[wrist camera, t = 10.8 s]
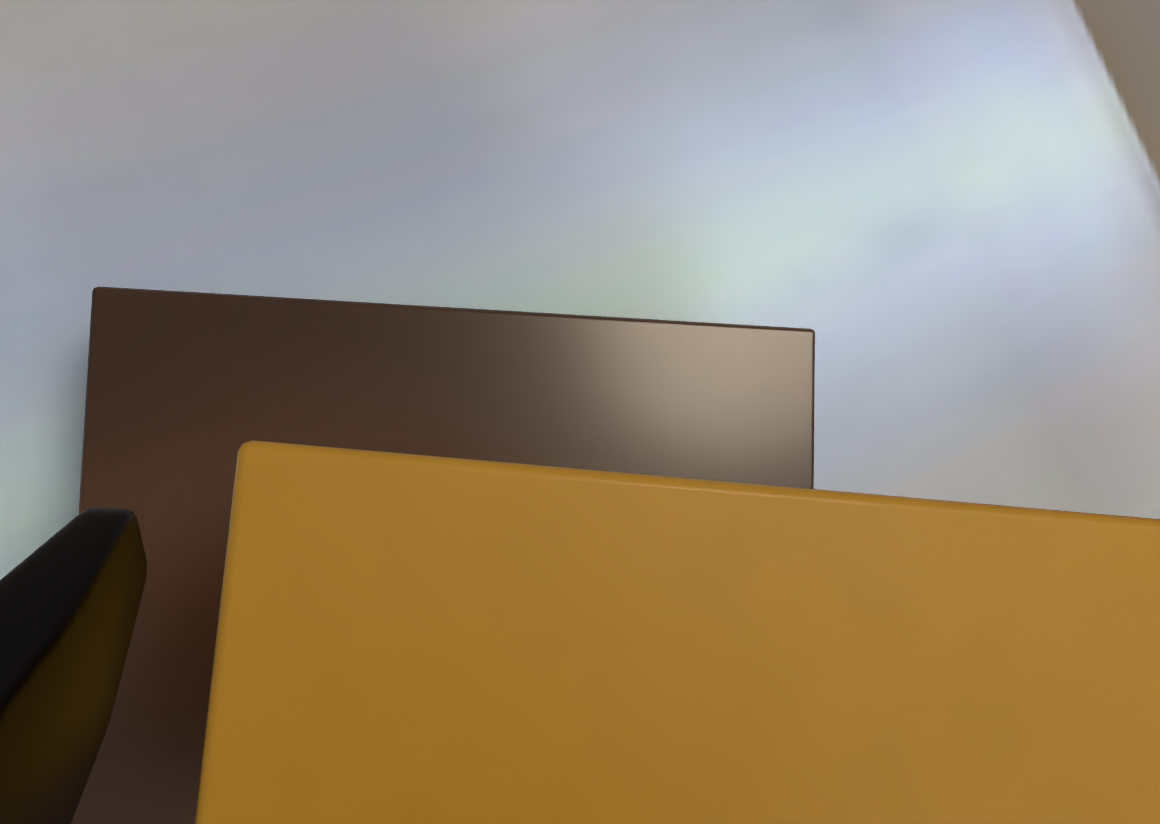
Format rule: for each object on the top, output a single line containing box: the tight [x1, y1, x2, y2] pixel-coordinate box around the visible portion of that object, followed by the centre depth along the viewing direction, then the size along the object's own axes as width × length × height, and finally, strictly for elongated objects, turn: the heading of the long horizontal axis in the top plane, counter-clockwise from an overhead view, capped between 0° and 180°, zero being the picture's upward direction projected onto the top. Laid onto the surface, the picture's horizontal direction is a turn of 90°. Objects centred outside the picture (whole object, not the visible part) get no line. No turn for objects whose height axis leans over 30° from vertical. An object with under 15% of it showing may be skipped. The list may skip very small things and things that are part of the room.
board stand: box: [71, 287, 815, 824], centre depth 18 cm, size 18×14×4 cm
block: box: [195, 440, 1160, 824], centre depth 10 cm, size 5×5×12 cm
